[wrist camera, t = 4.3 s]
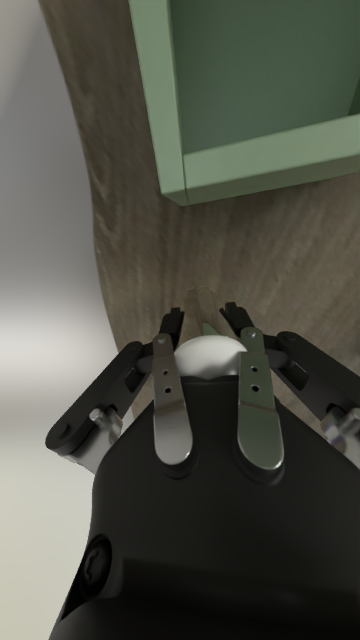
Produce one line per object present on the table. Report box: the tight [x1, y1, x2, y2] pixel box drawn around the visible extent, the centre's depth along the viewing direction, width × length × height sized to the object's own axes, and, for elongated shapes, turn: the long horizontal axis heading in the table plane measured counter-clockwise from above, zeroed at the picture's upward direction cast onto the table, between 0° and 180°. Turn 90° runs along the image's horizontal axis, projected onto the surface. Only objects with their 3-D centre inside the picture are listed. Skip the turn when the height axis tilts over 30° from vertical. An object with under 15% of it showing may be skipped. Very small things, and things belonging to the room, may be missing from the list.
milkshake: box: [174, 286, 280, 402], centre depth 11 cm, size 4×5×10 cm
